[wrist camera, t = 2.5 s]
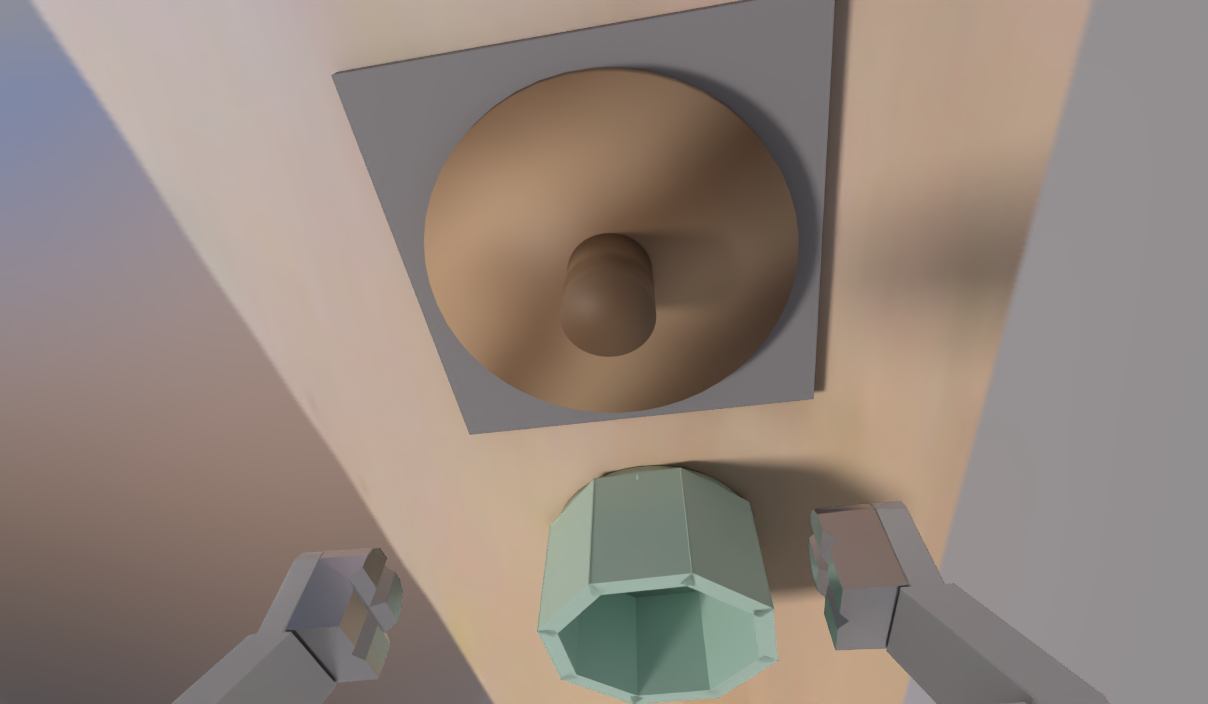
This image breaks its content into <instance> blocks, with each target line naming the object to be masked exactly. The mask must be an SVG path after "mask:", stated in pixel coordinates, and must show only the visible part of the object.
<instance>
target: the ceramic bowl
mask: <svg viewBox="0 0 1208 704" xmlns="http://www.w3.org/2000/svg"><path fill="white" fill-rule="evenodd" d="M773 609H774V607H773V602H772V598H771V594H770V589H769V585H768V580H767V576H766V571H765V567H764V563H763V558H762V554H761V549H760V545H759V541H758V536H757V532H756V527H755V523H754V518H753V514H752V510H751V505H750V502H749V501H747V500H745V499H743V498H741V497H739V496H737V494H736V493H735V492H734V491H733V490H731V489H730V488H729V487H727V486H726V485H725V484H723V483H721V482H720V481H718V480H716V479H714V478H712V477H710V476H707V475H705V474H703V473H699V472H696V471H693V470H689V469H684V468H682V467H680V468H679V467H670V466H642V467H634V468H628V469H623V470H620V471H616V472H612V473H609V474H607V475H604V476H602V477H599V478H597V479H593V480H592V481H591V482H590V483H588V484H587V485H585V486H584V487H583V488H581V489H580V490H579V491H578V492H576V493H575V494H574V495H573V496H572V497H571V498H570V500H569V501H568V502H567V504H566V505H565V507H564V509H563V510H562V512H561V515H560V516H559V517H558V518H557V519H556V520H555V521H554V522H553V523H552V524H551V525H550V529H549V537H548V545H547V554H546V562H545V570H544V578H543V587H542V595H541V603H540V612H539V620H538V628H537V632H538V633H539V635H540V637H541V639H542V641H543V643H544V645H545V647H546V649H547V651H548V653H549V655H550V657H551V659H552V662H553V664H554V666H555V668H556V670H557V672H558V674H559V676H560V678H561V680H565V681H568V682H571V683H573V684H576V685H579V686H582V687H585V688H588V689H591V690H594V691H597V692H600V693H602V694H605V695H608V696H611V697H614V698H617V699H620V700H623V701H626V702H629V703H632V704H644V703H657V702H670V701H683V700H696V699H709V698H719V697H721V696H722V695H724V694H726V693H727V692H729V691H731V690H732V689H734V688H735V687H737V686H739V685H740V684H742V683H743V682H745V681H747V680H748V679H750V678H751V677H753V676H755V675H756V674H758V673H760V672H761V671H763V670H764V669H766V668H768V667H769V666H771V665H772V664H774V663H776V662H777V661H778V656H777V644H776V633H775V622H774V611H773Z"/></svg>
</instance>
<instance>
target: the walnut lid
mask: <svg viewBox="0 0 1208 704" xmlns="http://www.w3.org/2000/svg"><path fill="white" fill-rule="evenodd" d="M798 244H799V236H798V227H797V218H796V213H795V209H794V205H793V201H792V198H791V194H790V191H789V188H788V186H787V184H786V182H785V179H784V177H783V175H782V173H781V170H780V168H779V167H778V165H777V164H776V162H775V160H774V159H773V157H772V156H771V154H770V153H769V151H768V149H767V148H766V146H765V145H764V143H763V142H762V140H761V139H760V138H759V137H758V136H757V134H756V133H755V132H754V131H753V130H752V129H751V128H750V126H749V125H748V124H747V123H746V122H745V121H744V120H743V119H742V118H741V117H740V116H738V115H737V114H736V113H735V112H734V111H733V110H731V109H730V108H729V107H728V106H727V105H725V104H724V103H723V102H721V101H719V100H718V99H716V98H715V97H713V96H711V95H710V94H708V93H707V92H705V91H703V90H702V89H700V88H697V87H695V86H693V85H691V84H688V83H686V82H684V81H681V80H679V79H677V78H674V77H670V76H666V75H663V74H659V73H656V72H652V71H647V70H639V69H631V68H623V67H607V68H588V69H582V70H576V71H570V72H564V73H561V74H558V75H555V76H552V77H548V78H545V79H542V80H539V81H537V82H535V83H533V84H531V85H529V86H526V87H524V88H522V89H520V90H518V91H516V92H514V93H513V94H511V95H510V96H508V97H507V98H505V99H504V100H502V101H501V102H499V103H498V104H496V105H495V106H493V107H492V108H491V109H490V110H489V111H488V112H487V113H486V114H485V115H483V116H482V117H481V118H480V119H479V120H478V121H477V122H476V123H475V124H474V125H473V126H472V127H471V128H470V130H469V131H468V132H467V133H466V135H465V136H464V137H463V138H462V140H461V141H460V142H459V143H458V145H457V146H456V147H455V148H454V150H453V151H452V152H451V154H450V156H449V158H448V159H447V161H446V163H445V165H444V166H443V168H442V170H441V171H440V173H439V176H438V178H437V181H436V183H435V186H434V188H433V191H432V193H431V196H430V201H429V205H428V210H427V214H426V219H425V232H424V251H425V264H426V269H427V273H428V278H429V283H430V286H431V289H432V292H433V294H434V297H435V300H436V303H437V305H438V307H439V309H440V311H441V313H442V315H443V317H444V319H445V321H446V323H447V324H448V326H449V327H450V329H451V330H452V332H453V333H454V334H455V336H456V337H457V339H458V340H459V341H460V343H461V344H462V345H463V346H464V347H465V348H466V349H467V351H468V352H469V353H470V354H471V355H472V356H473V357H474V358H475V359H476V360H477V361H478V362H480V363H481V364H482V365H483V366H484V367H485V368H486V369H487V370H489V371H490V372H491V373H493V374H494V375H496V376H497V377H498V378H500V379H501V380H503V381H504V382H506V383H507V384H509V385H511V386H513V387H514V388H516V389H518V390H520V391H522V392H524V393H526V394H528V395H531V396H533V397H535V398H538V399H540V400H542V401H546V402H549V403H552V404H555V405H558V406H562V407H567V408H572V409H576V410H581V411H591V412H601V413H624V412H634V411H644V410H649V409H654V408H659V407H663V406H667V405H670V404H673V403H676V402H679V401H683V400H685V399H687V398H690V397H692V396H694V395H697V394H699V393H701V392H703V391H705V390H707V389H709V388H710V387H712V386H714V385H716V384H717V383H719V382H721V381H722V380H723V379H725V378H726V377H728V376H729V375H730V374H732V373H733V372H735V371H736V370H737V369H738V368H739V367H740V366H742V365H743V364H744V363H745V362H746V361H747V360H748V359H749V358H750V357H751V356H752V355H753V354H754V353H755V352H756V351H757V350H758V348H759V347H760V346H761V345H762V344H763V343H764V342H765V340H766V339H767V337H768V336H769V334H770V333H771V331H772V330H773V328H774V327H775V325H776V324H777V322H778V320H779V318H780V316H781V314H782V312H783V310H784V308H785V306H786V304H787V302H788V299H789V296H790V293H791V290H792V287H793V284H794V279H795V274H796V268H797V263H798Z"/></svg>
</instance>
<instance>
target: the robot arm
mask: <svg viewBox="0 0 1208 704" xmlns="http://www.w3.org/2000/svg"><path fill="white" fill-rule="evenodd" d="M810 523H811V526H812V529H813V533H814V534H813V535H812V536H811V537H810V538H809V555H810V564H811V569H812V573H813V577H814V581H815V584H816V588H817V590H818V591H819V592H820V593H821V594H822V595H823V596H824V597H826V598H825V610H824V615H825V618H826V621H827V624H828V628H829V631H830V634H831V637H832V641H833V644H834V647H835V650H856V649H884V648H887V652H888V653H889V654H890V655H891V656H892V657H893V658H894V659H895V660H896V661H897V663H898V664H899V665H900V666H901V667H902V668H903V669H904V670H905V671H906V672H907V673H908V674H909V675H910V676H911V677H912V678H913V679H914V680H915V681H916V682H917V683H918V684H919V685H920V687H921V688H922V689H923V690H924V691H925V692H926V693H927V694H928V695H929V696H930V697H931V698H932V699H933V700H934V701H935V702H936V703H937V704H1110V703H1109V702H1108V700H1107V699H1106V697H1105V696H1104V695H1103V694H1102V693H1100V692H1099V691H1097V690H1096V689H1095V688H1094V687H1092V686H1091V685H1090V684H1088V683H1087V682H1086V681H1084V680H1083V679H1081V678H1080V677H1079V676H1077V675H1076V674H1075V673H1073V672H1072V671H1071V670H1069V669H1068V668H1067V667H1065V666H1064V665H1063V664H1061V663H1060V662H1059V661H1057V660H1056V659H1055V658H1053V657H1052V656H1051V655H1049V654H1048V653H1047V652H1045V651H1044V650H1043V649H1041V648H1040V647H1039V646H1037V645H1036V644H1035V643H1033V642H1032V641H1031V640H1029V639H1028V638H1027V637H1025V636H1024V635H1023V634H1021V633H1020V632H1018V631H1017V630H1016V629H1014V628H1013V627H1012V626H1010V625H1009V624H1008V623H1006V622H1005V621H1004V620H1002V619H1001V618H1000V617H998V616H997V615H996V614H994V613H993V612H992V611H990V610H989V609H988V608H986V607H985V606H984V605H982V604H981V603H980V602H978V601H977V600H975V599H974V598H973V597H972V596H970V595H969V594H967V593H966V592H965V591H964V590H962V589H961V588H959V587H958V586H957V585H956V584H954V583H953V584H945V583H944V581H943V579H942V577H941V575H940V573H939V571H938V569H937V567H936V565H935V563H934V561H933V559H932V557H931V555H930V553H929V551H928V549H927V547H926V545H925V543H924V541H923V539H922V537H921V535H920V533H919V531H918V529H917V527H916V525H915V524H914V522H913V520H912V518H911V516H910V514H909V512H908V510H907V508H906V506H905V505H904V504H903V503H902V502H901V501H895V502H884V503H874V504H868V503H866V504H856V505H846V506H836V507H826V508H817V509H813V510H812V512H811V518H810ZM386 560H387V557H386V556H385V554H384V553H383V551H382V550H381V548H369V549H354V550H338V551H321V552H309V553H302V554H301V555H300V556H299V557H298V558H297V559H296V560H295V561H294V562H293V564H292V566H291V568H290V570H289V572H288V574H287V576H286V578H285V580H284V582H283V584H282V586H281V588H280V590H279V591H278V594H277V595H276V597H275V599H274V602H273V603H272V605H271V607H270V609H269V611H268V613H267V615H266V617H265V619H264V621H263V623H262V625H261V627H260V629H259V630H258V633H257V634H250V635H248V636H247V637H246V638H245V639H244V640H243V641H242V642H241V643H239V645H237V646H236V647H235V648H234V649H233V650H232V651H230V652H229V653H228V654H227V655H226V656H225V657H224V658H223V659H222V660H221V661H219V662H218V663H217V664H216V665H215V666H214V667H213V668H211V669H210V670H209V671H208V672H207V673H206V674H205V675H203V677H201V678H200V679H199V680H198V681H197V682H196V683H194V684H193V685H192V686H191V687H190V688H189V689H188V690H187V691H185V692H184V693H183V694H182V695H181V696H180V697H179V698H177V699H176V700H175V701H174V702H173V703H172V704H322V703H323V702H324V701H325V699H326V698H327V697H328V695H329V694H330V693H331V692H332V691H333V689H334V688H335V687H336V683H339V682H349V681H360V680H371V679H379V677H380V674H381V671H382V668H383V665H384V662H385V659H386V655H387V652H388V649H389V646H390V642H389V639H388V636H387V634H386V632H387V631H388V630H389V629H390V628H391V627H392V626H393V625H394V624H395V623H396V622H397V621H398V617H399V614H400V610H401V607H402V592H403V590H402V586H401V581H400V579H399V577H398V575H397V573H396V572H395V571H393V570H391V569H389V568H388V567H386V566H385V563H386Z"/></svg>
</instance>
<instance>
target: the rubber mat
mask: <svg viewBox="0 0 1208 704" xmlns="http://www.w3.org/2000/svg"><path fill="white" fill-rule="evenodd" d="M834 7H835V0H743V1H737V2H731V3H726V4H720V5H714V6H709V7H703V8H697V9H692V10H686V11H680V12H675V13H669V14H663V15H658V16H652V17H646V18H641V19H635V20H629V21H624V22H618V23H612V24H607V25H601V26H595V27H590V28H584V29H578V30H573V31H567V32H562V33H556V34H550V35H545V36H539V37H533V38H528V39H522V40H516V41H511V42H505V43H499V44H494V45H488V46H482V47H477V48H471V49H465V50H460V51H454V52H448V53H443V54H437V55H431V56H426V57H420V58H414V59H409V60H403V61H397V62H392V63H386V64H380V65H375V66H369V67H363V68H358V69H352V70H346V71H341V72H337V73H335V74H333V75H331V76H332V78H333V81H334V84H335V86H336V89H337V91H338V94H339V97H340V99H341V102H342V104H343V107H344V110H345V112H346V115H347V117H348V120H349V123H350V125H351V128H352V130H353V133H354V136H355V138H356V141H357V143H358V146H359V149H360V151H361V154H362V156H363V159H364V162H365V164H366V167H367V169H368V172H369V175H370V177H371V180H372V182H373V185H374V187H375V190H376V193H377V195H378V198H379V200H380V203H381V206H382V208H383V211H384V213H385V216H386V219H387V221H388V224H389V226H390V229H391V232H392V234H393V237H394V239H395V242H396V245H397V247H398V250H399V252H400V255H401V258H402V260H403V263H404V265H405V268H406V271H407V273H408V276H409V278H410V281H411V284H412V286H413V289H414V291H415V294H416V297H417V299H418V302H419V304H420V307H421V309H422V312H423V315H424V317H425V320H426V322H427V325H428V328H429V330H430V333H431V335H432V338H433V341H434V343H435V346H436V348H437V351H438V354H439V356H440V359H441V361H442V364H443V367H444V369H445V372H446V374H447V377H448V380H449V382H450V385H451V387H452V390H453V393H454V395H455V398H456V400H457V403H458V406H459V408H460V411H461V413H462V416H463V419H464V421H465V424H466V426H467V429H468V431H469V434H470V435H472V434H481V433H491V432H501V431H510V430H520V429H530V428H539V427H549V426H559V425H568V424H578V423H587V422H597V421H607V420H616V419H626V418H636V417H645V416H655V415H665V414H674V413H684V412H694V411H703V410H713V409H722V408H732V407H742V406H751V405H761V404H771V403H780V402H790V401H800V400H809V399H814V383H815V364H816V345H817V326H818V307H819V289H820V270H821V251H822V232H823V213H824V195H825V176H826V157H827V138H828V120H829V101H830V82H831V63H832V44H833V26H834ZM607 67H623V68H631V69H639V70H647V71H652V72H656V73H659V74H663V75H666V76H670V77H674V78H677V79H679V80H681V81H684V82H686V83H688V84H691V85H693V86H695V87H697V88H700V89H702V90H703V91H705V92H707V93H708V94H710V95H711V96H713V97H715V98H716V99H718V100H719V101H721V102H723V103H724V104H725V105H727V106H728V107H729V108H730V109H731V110H733V111H734V112H735V113H736V114H737V115H738V116H740V117H741V118H742V119H743V120H744V121H745V122H746V123H747V124H748V125H749V126H750V128H751V129H752V130H753V131H754V132H755V133H756V134H757V136H758V137H759V138H760V139H761V140H762V142H763V143H764V145H765V146H766V148H767V149H768V151H769V153H770V154H771V156H772V157H773V159H774V160H775V162H776V164H777V165H778V167H779V168H780V170H781V173H782V175H783V177H784V179H785V182H786V184H787V186H788V188H789V191H790V194H791V198H792V201H793V205H794V209H795V213H796V218H797V227H798V236H799V244H798V263H797V268H796V274H795V279H794V284H793V287H792V290H791V293H790V296H789V299H788V302H787V304H786V306H785V308H784V310H783V312H782V314H781V316H780V318H779V320H778V322H777V324H776V325H775V327H774V328H773V330H772V331H771V333H770V334H769V336H768V337H767V339H766V340H765V342H764V343H763V344H762V345H761V346H760V347H759V348H758V350H757V351H756V352H755V353H754V354H753V355H752V356H751V357H750V358H749V359H748V360H747V361H746V362H745V363H744V364H743V365H742V366H740V367H739V368H738V369H737V370H736V371H735V372H733V373H732V374H730V375H729V376H728V377H726V378H725V379H723V380H722V381H721V382H719V383H717V384H716V385H714V386H712V387H710V388H709V389H707V390H705V391H703V392H701V393H699V394H697V395H694V396H692V397H690V398H687V399H685V400H683V401H679V402H676V403H673V404H670V405H667V406H663V407H659V408H654V409H649V410H644V411H634V412H624V413H601V412H591V411H581V410H576V409H572V408H567V407H562V406H558V405H555V404H552V403H549V402H546V401H542V400H540V399H538V398H535V397H533V396H531V395H528V394H526V393H524V392H522V391H520V390H518V389H516V388H514V387H513V386H511V385H509V384H507V383H506V382H504V381H503V380H501V379H500V378H498V377H497V376H496V375H494V374H493V373H491V372H490V371H489V370H487V369H486V368H485V367H484V366H483V365H482V364H481V363H480V362H478V361H477V360H476V359H475V358H474V357H473V356H472V355H471V354H470V353H469V352H468V351H467V349H466V348H465V347H464V346H463V345H462V344H461V343H460V341H459V340H458V339H457V337H456V336H455V334H454V333H453V332H452V330H451V329H450V327H449V326H448V324H447V323H446V321H445V319H444V317H443V315H442V313H441V311H440V309H439V307H438V305H437V303H436V300H435V297H434V294H433V292H432V289H431V286H430V283H429V278H428V273H427V269H426V264H425V251H424V232H425V219H426V214H427V210H428V205H429V201H430V196H431V193H432V191H433V188H434V186H435V183H436V181H437V178H438V176H439V173H440V171H441V170H442V168H443V166H444V165H445V163H446V161H447V159H448V158H449V156H450V154H451V152H452V151H453V150H454V148H455V147H456V146H457V145H458V143H459V142H460V141H461V140H462V138H463V137H464V136H465V135H466V133H467V132H468V131H469V130H470V128H471V127H472V126H473V125H474V124H475V123H476V122H477V121H478V120H479V119H480V118H481V117H482V116H483V115H485V114H486V113H487V112H488V111H489V110H490V109H491V108H492V107H493V106H495V105H496V104H498V103H499V102H501V101H502V100H504V99H505V98H507V97H508V96H510V95H511V94H513V93H514V92H516V91H518V90H520V89H522V88H524V87H526V86H529V85H531V84H533V83H535V82H537V81H539V80H542V79H545V78H548V77H552V76H555V75H558V74H561V73H564V72H570V71H576V70H582V69H588V68H607Z"/></svg>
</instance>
